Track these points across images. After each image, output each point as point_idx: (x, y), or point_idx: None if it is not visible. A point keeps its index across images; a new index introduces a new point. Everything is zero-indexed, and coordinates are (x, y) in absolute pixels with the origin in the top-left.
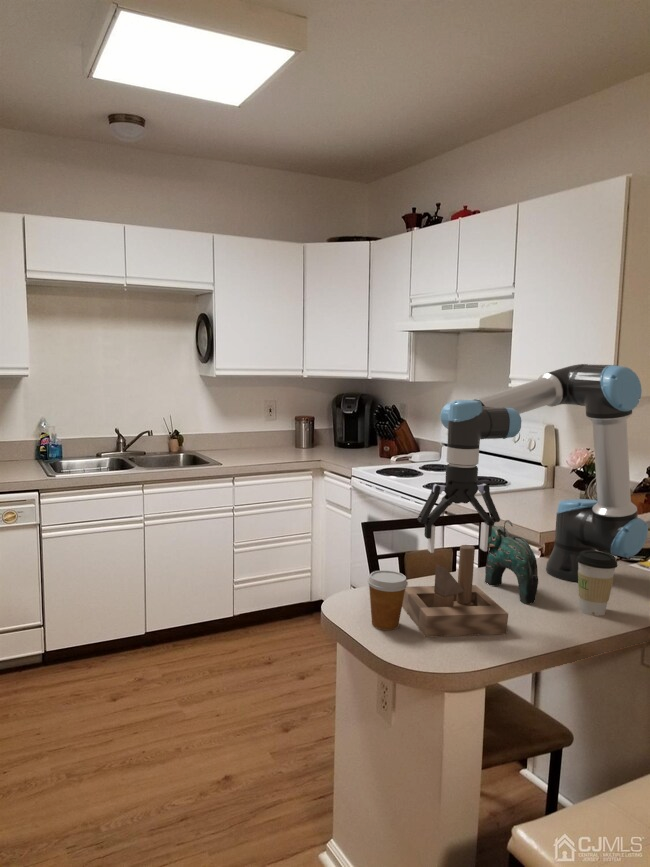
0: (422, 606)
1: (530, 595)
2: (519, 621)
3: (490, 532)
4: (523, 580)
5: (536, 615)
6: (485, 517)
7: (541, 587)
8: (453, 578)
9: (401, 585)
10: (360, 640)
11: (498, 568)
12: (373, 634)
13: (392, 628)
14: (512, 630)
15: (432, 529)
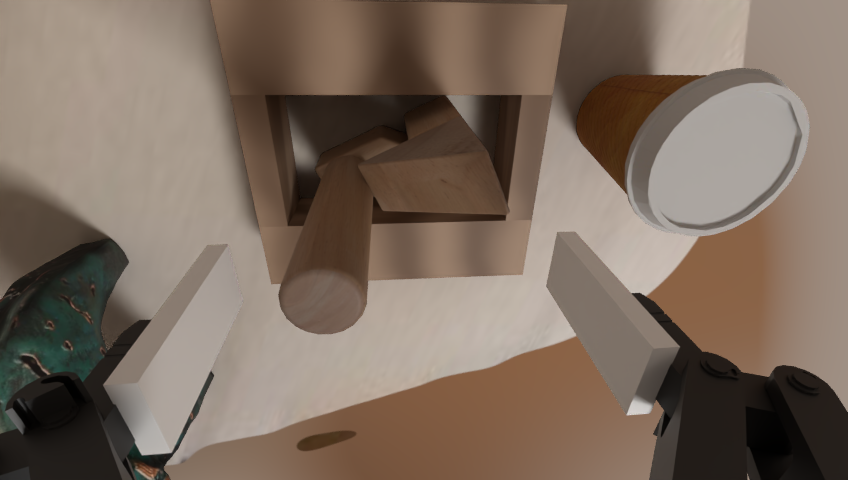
0: (536, 106)
1: (79, 251)
2: (163, 107)
3: (121, 346)
4: (76, 290)
5: (88, 152)
6: (96, 468)
7: None
8: (426, 155)
9: (702, 88)
10: (748, 3)
11: None
12: (685, 47)
13: (615, 77)
14: (208, 30)
15: (661, 328)
